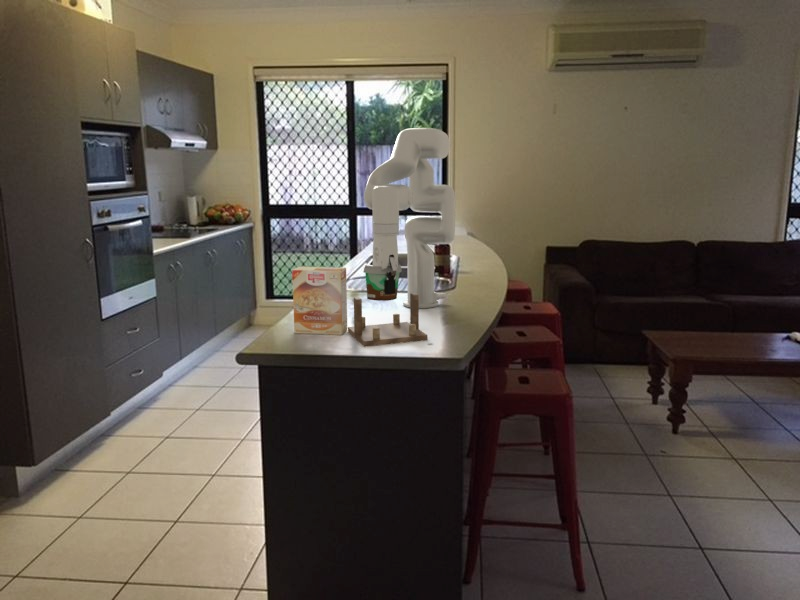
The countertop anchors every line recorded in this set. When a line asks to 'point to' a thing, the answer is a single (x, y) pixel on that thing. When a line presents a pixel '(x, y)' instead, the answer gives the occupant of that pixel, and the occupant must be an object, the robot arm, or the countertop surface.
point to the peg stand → (387, 326)
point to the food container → (379, 283)
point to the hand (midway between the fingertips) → (386, 291)
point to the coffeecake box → (320, 300)
